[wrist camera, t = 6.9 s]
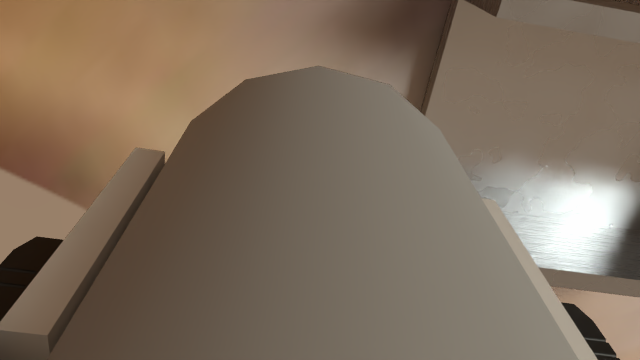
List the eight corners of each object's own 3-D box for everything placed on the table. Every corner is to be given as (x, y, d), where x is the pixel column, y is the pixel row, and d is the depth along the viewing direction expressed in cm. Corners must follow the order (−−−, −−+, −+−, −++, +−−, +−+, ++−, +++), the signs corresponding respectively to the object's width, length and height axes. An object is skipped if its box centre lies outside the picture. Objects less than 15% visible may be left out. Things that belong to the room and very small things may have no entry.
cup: (152, 60, 12) (-270, 429, 3) (481, 71, 12) (893, 443, 4) (183, 316, 16) (26, 796, 7) (432, 321, 16) (572, 793, 8)
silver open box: (394, 202, 28) (414, 268, 23) (460, -29, 23) (505, -12, 17) (681, 243, 30) (760, 312, 25) (810, 37, 24) (949, 71, 19)
